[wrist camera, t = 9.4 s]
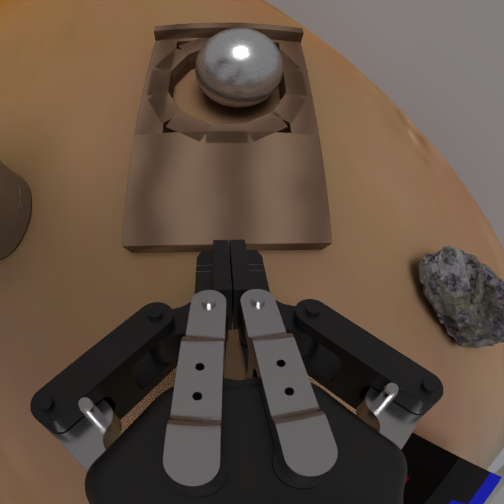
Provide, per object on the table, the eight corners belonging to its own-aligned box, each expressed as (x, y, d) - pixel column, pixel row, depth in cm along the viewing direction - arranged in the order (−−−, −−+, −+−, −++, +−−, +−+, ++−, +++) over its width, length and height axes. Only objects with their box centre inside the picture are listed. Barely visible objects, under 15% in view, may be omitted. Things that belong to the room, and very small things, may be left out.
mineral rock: (402, 263, 26) (476, 240, 16) (464, 226, 28) (527, 200, 18) (439, 377, 24) (510, 392, 14) (495, 326, 26) (558, 324, 16)
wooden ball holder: (131, 252, 24) (115, 241, 20) (159, 50, 28) (155, 26, 24) (322, 249, 25) (339, 238, 21) (295, 51, 30) (302, 28, 26)
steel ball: (213, 6, 20) (211, 59, 28) (178, 57, 19) (184, 112, 27) (299, 25, 21) (281, 77, 29) (281, 80, 19) (263, 133, 27)
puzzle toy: (444, 449, 23) (501, 477, 13) (390, 516, 21) (434, 558, 11) (394, 422, 23) (459, 457, 13) (331, 499, 21) (371, 556, 11)
